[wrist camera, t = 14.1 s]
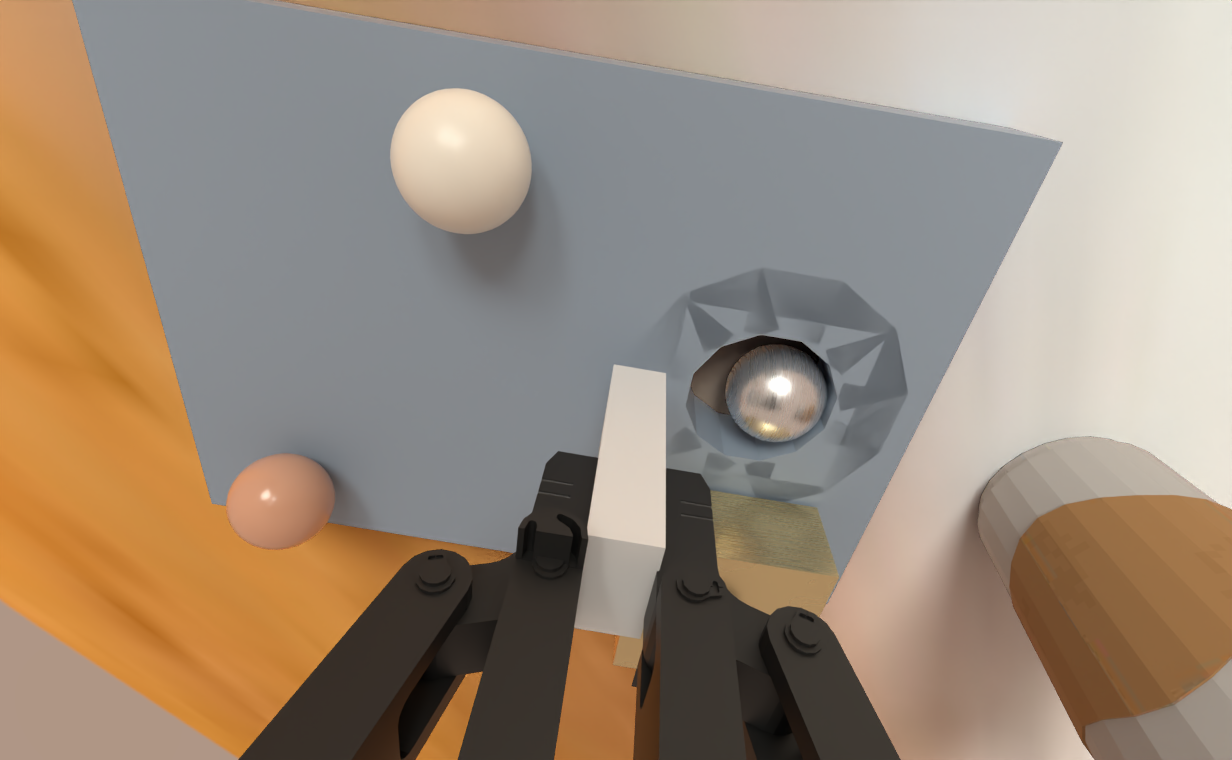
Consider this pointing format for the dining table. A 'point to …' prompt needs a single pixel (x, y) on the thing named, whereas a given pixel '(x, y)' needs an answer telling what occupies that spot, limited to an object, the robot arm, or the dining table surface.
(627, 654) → the brass cover
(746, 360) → the steel ball
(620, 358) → the board
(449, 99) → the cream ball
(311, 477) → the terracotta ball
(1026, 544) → the coffee cup
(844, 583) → the dining table surface
